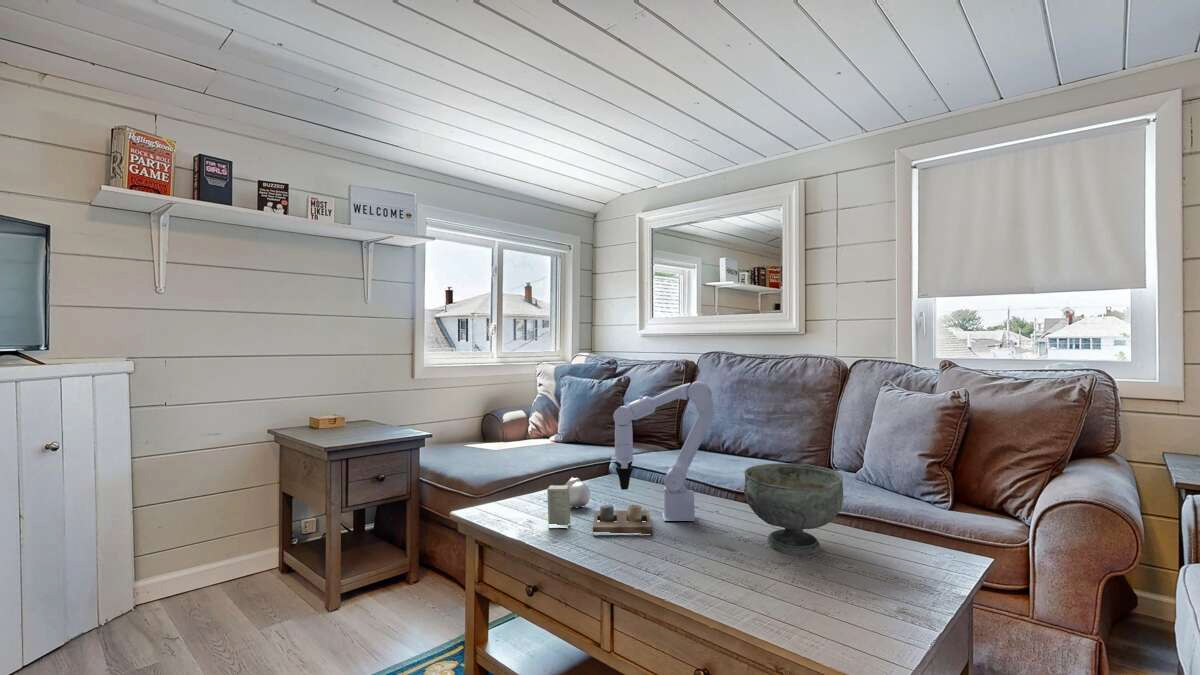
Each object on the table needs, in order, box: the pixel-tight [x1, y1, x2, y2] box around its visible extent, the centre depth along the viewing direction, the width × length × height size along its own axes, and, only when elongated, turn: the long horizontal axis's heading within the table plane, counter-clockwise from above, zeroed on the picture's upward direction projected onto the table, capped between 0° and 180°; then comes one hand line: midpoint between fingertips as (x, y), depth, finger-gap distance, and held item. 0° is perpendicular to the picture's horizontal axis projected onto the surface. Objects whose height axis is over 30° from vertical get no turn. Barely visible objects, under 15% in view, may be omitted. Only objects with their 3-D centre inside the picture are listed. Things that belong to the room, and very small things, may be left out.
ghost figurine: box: [564, 477, 591, 508], centre depth 192 cm, size 9×10×10 cm
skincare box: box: [546, 484, 571, 525], centre depth 173 cm, size 6×4×12 cm
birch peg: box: [627, 504, 643, 522], centre depth 172 cm, size 4×4×6 cm
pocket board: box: [592, 504, 653, 535], centre depth 172 cm, size 17×16×6 cm
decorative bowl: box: [743, 462, 844, 556], centre depth 154 cm, size 26×26×20 cm
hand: (624, 486), depth 183 cm, fingers open, 7 cm apart
